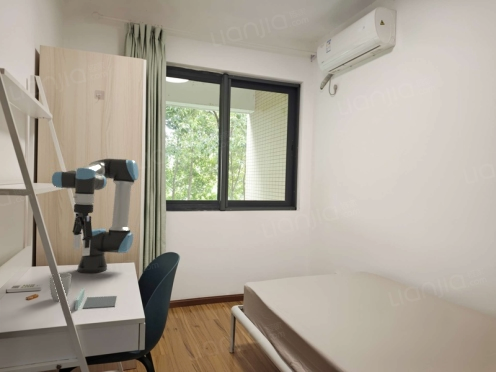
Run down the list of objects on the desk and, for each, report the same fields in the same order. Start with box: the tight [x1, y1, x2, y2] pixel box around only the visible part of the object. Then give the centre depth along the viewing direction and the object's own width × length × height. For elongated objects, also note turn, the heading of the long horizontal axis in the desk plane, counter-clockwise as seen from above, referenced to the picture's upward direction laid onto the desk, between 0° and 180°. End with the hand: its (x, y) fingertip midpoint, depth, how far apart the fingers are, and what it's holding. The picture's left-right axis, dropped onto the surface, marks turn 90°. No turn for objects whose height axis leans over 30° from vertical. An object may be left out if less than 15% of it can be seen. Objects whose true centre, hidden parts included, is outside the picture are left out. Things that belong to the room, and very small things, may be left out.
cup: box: [49, 272, 72, 302], centre depth 137 cm, size 8×8×10 cm
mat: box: [82, 295, 118, 310], centre depth 136 cm, size 12×12×1 cm
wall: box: [74, 288, 85, 311], centre depth 133 cm, size 14×1×4 cm, turn 19°
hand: (80, 252), depth 138 cm, fingers open, 13 cm apart
